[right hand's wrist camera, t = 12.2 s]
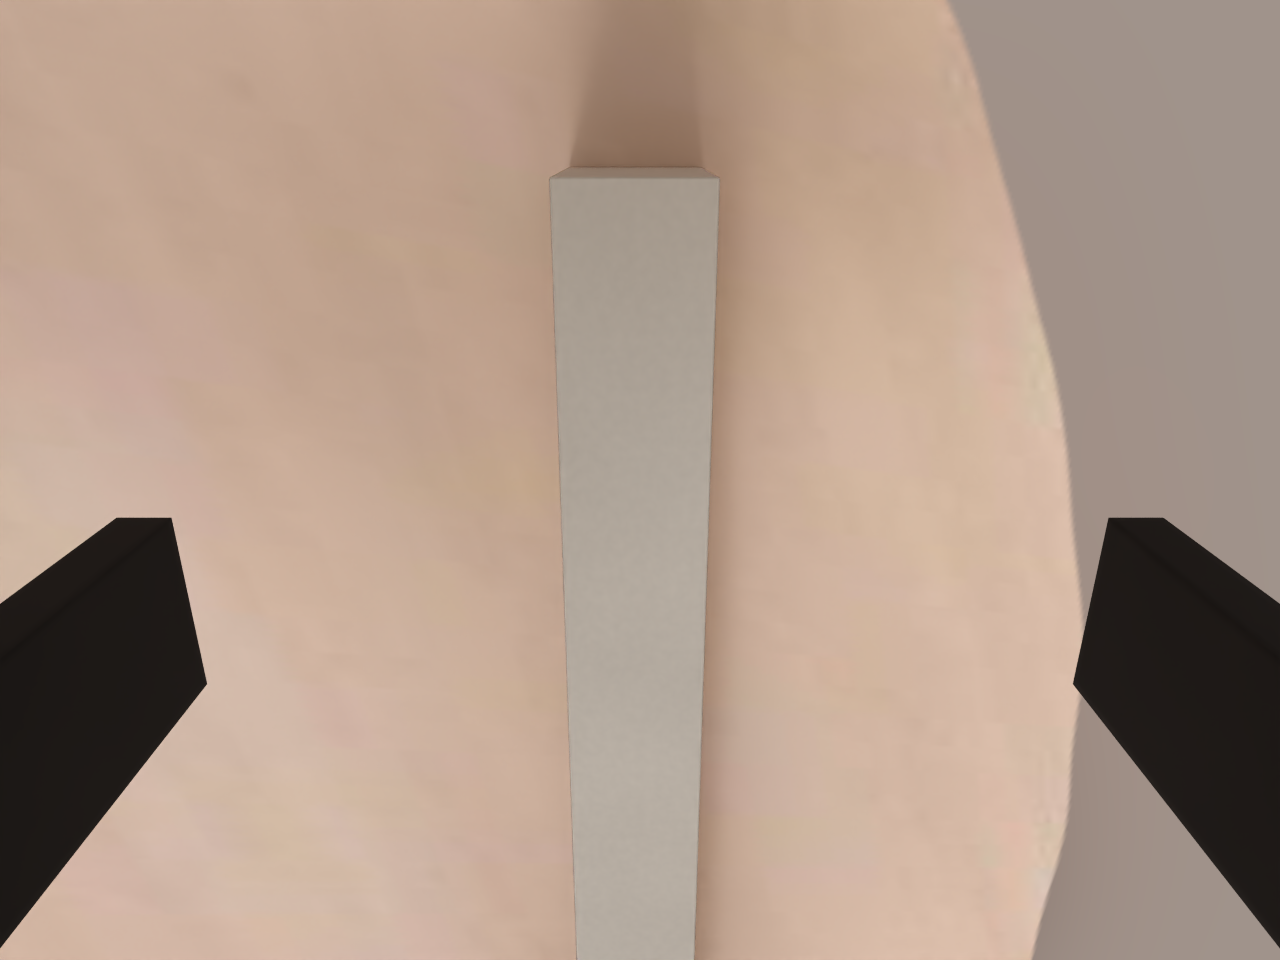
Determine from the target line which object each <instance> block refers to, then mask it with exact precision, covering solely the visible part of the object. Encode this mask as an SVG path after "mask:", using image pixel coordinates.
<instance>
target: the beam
mask: <svg viewBox="0 0 1280 960" xmlns="http://www.w3.org/2000/svg"><path fill="white" fill-rule="evenodd" d="M549 187H550V216H551V244H552V273H553V301H554V330H555V358H556V387H557V415H558V444H559V473H560V501H561V530H562V558H563V587H564V615H565V644H566V672H567V701H568V729H569V758H570V786H571V815H572V843H573V872H574V901H575V929H576V958H577V960H695V930H696V900H697V869H698V838H699V808H700V777H701V747H702V716H703V686H704V655H705V624H706V594H707V563H708V533H709V502H710V472H711V441H712V410H713V380H714V349H715V319H716V288H717V258H718V227H719V196H720V178H719V177H717V176H716V175H714V174H712V173H710V172H709V171H707V170H705V169H704V168H702V167H569V168H567V169H565V170H563V171H561V172H560V173H558V174H556V175H554V176H552V177H550V179H549Z"/></svg>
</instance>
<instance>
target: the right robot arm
mask: <svg viewBox="0 0 1280 960" xmlns="http://www.w3.org/2000/svg"><path fill="white" fill-rule="evenodd" d="M206 685H207V681H206V677H205V672H204V667H203V663H202V658H201V654H200V649H199V644H198V640H197V635H196V630H195V626H194V621H193V616H192V612H191V607H190V602H189V598H188V593H187V588H186V584H185V579H184V574H183V570H182V565H181V560H180V556H179V551H178V546H177V542H176V537H175V532H174V528H173V523H172V518H116V519H114V520H113V521H112V522H110V523H109V524H108V525H106V526H105V527H104V528H102V529H101V530H99V531H98V532H97V533H95V534H94V535H93V536H91V537H90V538H89V539H87V540H86V541H85V542H83V543H82V544H81V545H79V546H78V547H76V548H75V549H74V550H72V551H71V552H70V553H68V554H67V555H66V556H64V557H63V558H62V559H60V560H59V561H58V562H56V563H55V564H53V565H52V566H51V567H49V568H48V569H47V570H45V571H44V572H43V573H41V574H40V575H39V576H37V577H36V578H35V579H33V580H32V581H30V582H29V583H28V584H26V585H25V586H24V587H22V588H21V589H20V590H18V591H17V592H16V593H14V594H13V595H12V596H10V597H9V598H7V599H6V600H5V601H3V602H2V603H1V604H0V948H1V946H2V945H3V944H4V943H5V941H6V940H7V939H8V938H9V936H10V935H11V934H12V932H13V931H14V930H15V929H16V927H17V926H18V925H19V924H20V922H21V921H22V920H23V918H24V917H25V916H26V915H27V913H28V912H29V911H30V909H31V908H32V907H33V906H34V904H35V903H36V902H37V901H38V899H39V898H40V897H41V895H42V894H43V893H44V892H45V890H46V889H47V888H48V886H49V885H50V884H51V883H52V881H53V880H54V879H55V878H56V876H57V875H58V874H59V872H60V871H61V870H62V869H63V867H64V866H65V865H66V863H67V862H68V861H69V860H70V858H71V857H72V856H73V855H74V853H75V852H76V851H77V849H78V848H79V847H80V846H81V844H82V843H83V842H84V840H85V839H86V838H87V837H88V835H89V834H90V833H91V832H92V830H93V829H94V828H95V826H96V825H97V824H98V823H99V821H100V820H101V819H102V818H103V816H104V815H105V814H106V812H107V811H108V810H109V809H110V807H111V806H112V805H113V803H114V802H115V801H116V800H117V798H118V797H119V796H120V795H121V793H122V792H123V791H124V789H125V788H126V787H127V786H128V784H129V783H130V782H131V780H132V779H133V778H134V777H135V775H136V774H137V773H138V772H139V770H140V769H141V768H142V766H143V765H144V764H145V763H146V761H147V760H148V759H149V757H150V756H151V755H152V754H153V752H154V751H155V750H156V749H157V747H158V746H159V745H160V743H161V742H162V741H163V740H164V738H165V737H166V736H167V735H168V733H169V732H170V731H171V729H172V728H173V727H174V726H175V724H176V723H177V722H178V720H179V719H180V718H181V717H182V715H183V714H184V713H185V712H186V710H187V709H188V708H189V706H190V705H191V704H192V703H193V701H194V700H195V699H196V697H197V696H198V695H199V694H200V692H201V691H202V690H203V689H204V687H205V686H206ZM1073 685H1074V686H1075V687H1076V689H1077V690H1078V691H1079V692H1080V694H1081V695H1082V696H1083V697H1084V699H1085V700H1086V701H1087V703H1088V704H1089V705H1090V706H1091V708H1092V709H1093V710H1094V711H1095V713H1096V714H1097V715H1098V717H1099V718H1100V719H1101V720H1102V722H1103V723H1104V724H1105V726H1106V727H1107V728H1108V729H1109V731H1110V732H1111V733H1112V735H1113V736H1114V737H1115V738H1116V740H1117V741H1118V742H1119V743H1120V745H1121V746H1122V747H1123V749H1124V750H1125V751H1126V752H1127V754H1128V755H1129V756H1130V757H1131V759H1132V760H1133V761H1134V763H1135V764H1136V765H1137V766H1138V768H1139V769H1140V770H1141V772H1142V773H1143V774H1144V775H1145V777H1146V778H1147V779H1148V780H1149V782H1150V783H1151V784H1152V786H1153V787H1154V788H1155V789H1156V791H1157V792H1158V793H1159V795H1160V796H1161V797H1162V798H1163V800H1164V801H1165V802H1166V803H1167V805H1168V806H1169V807H1170V808H1171V810H1172V811H1173V812H1174V814H1175V815H1176V816H1177V817H1178V819H1179V820H1180V821H1181V823H1182V824H1183V825H1184V826H1185V828H1186V829H1187V830H1188V832H1189V833H1190V834H1191V835H1192V837H1193V838H1194V839H1195V840H1196V842H1197V843H1198V844H1199V846H1200V847H1201V848H1202V849H1203V851H1204V852H1205V853H1206V855H1207V856H1208V857H1209V858H1210V860H1211V861H1212V862H1213V863H1214V865H1215V866H1216V867H1217V868H1218V870H1219V871H1220V872H1221V874H1222V875H1223V876H1224V878H1225V879H1226V880H1227V881H1228V883H1229V884H1230V885H1231V886H1232V888H1233V889H1234V890H1235V892H1236V893H1237V894H1238V895H1239V897H1240V898H1241V899H1242V901H1243V902H1244V903H1245V904H1246V906H1247V907H1248V908H1249V909H1250V911H1251V912H1252V913H1253V915H1254V916H1255V917H1256V918H1257V920H1258V921H1259V922H1260V923H1261V925H1262V926H1263V927H1264V929H1265V930H1266V931H1267V932H1268V934H1269V935H1270V936H1271V938H1272V939H1273V940H1274V941H1275V943H1276V944H1277V945H1278V946H1279V948H1280V604H1279V603H1278V602H1277V601H1275V600H1274V599H1273V598H1271V597H1270V596H1268V595H1267V594H1266V593H1264V592H1263V591H1262V590H1260V589H1259V588H1258V587H1256V586H1255V585H1254V584H1252V583H1251V582H1250V581H1248V580H1247V579H1245V578H1244V577H1243V576H1241V575H1240V574H1239V573H1237V572H1236V571H1235V570H1233V569H1232V568H1231V567H1229V566H1228V565H1227V564H1225V563H1224V562H1222V561H1221V560H1220V559H1218V558H1217V557H1216V556H1214V555H1213V554H1212V553H1210V552H1209V551H1208V550H1206V549H1205V548H1204V547H1202V546H1201V545H1199V544H1198V543H1197V542H1195V541H1194V540H1193V539H1191V538H1190V537H1189V536H1187V535H1186V534H1185V533H1183V532H1182V531H1181V530H1179V529H1178V528H1176V527H1175V526H1174V525H1172V524H1171V523H1170V522H1168V521H1167V520H1166V519H1164V518H1109V519H1108V523H1107V528H1106V532H1105V537H1104V542H1103V546H1102V551H1101V556H1100V560H1099V565H1098V570H1097V574H1096V579H1095V584H1094V588H1093V593H1092V598H1091V602H1090V607H1089V612H1088V616H1087V621H1086V626H1085V630H1084V635H1083V640H1082V644H1081V649H1080V654H1079V658H1078V663H1077V667H1076V672H1075V677H1074V681H1073Z"/></svg>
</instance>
